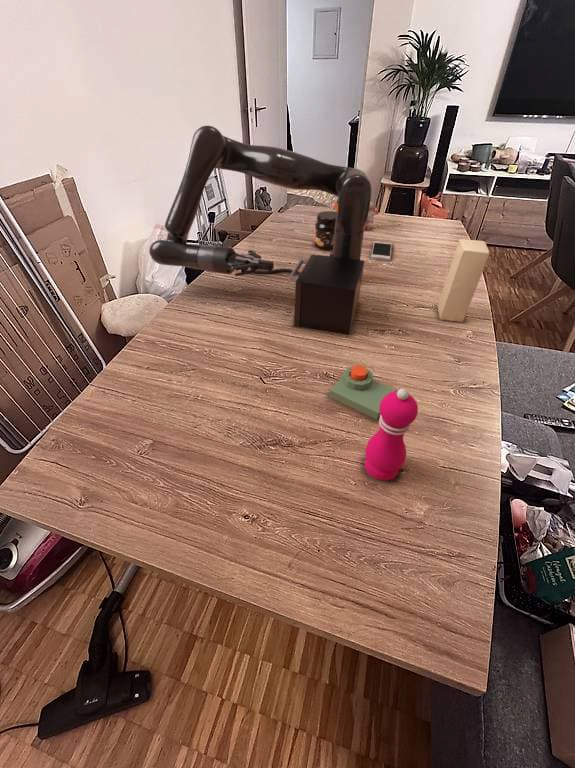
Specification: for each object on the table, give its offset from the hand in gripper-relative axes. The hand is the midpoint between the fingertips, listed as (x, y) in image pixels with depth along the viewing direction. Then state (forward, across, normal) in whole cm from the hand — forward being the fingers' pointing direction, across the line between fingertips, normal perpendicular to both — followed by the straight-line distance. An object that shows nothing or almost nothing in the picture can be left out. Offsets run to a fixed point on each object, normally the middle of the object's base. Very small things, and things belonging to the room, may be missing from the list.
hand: (272, 266), depth 107 cm
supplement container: (+6, +51, +13) cm, 53 cm away
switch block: (+31, -33, +13) cm, 47 cm away
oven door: (+8, 0, +13) cm, 15 cm away
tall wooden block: (+52, +11, +14) cm, 55 cm away
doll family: (+12, +73, +13) cm, 75 cm away
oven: (+18, 0, +13) cm, 22 cm away
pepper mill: (+37, -51, +13) cm, 65 cm away
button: (+30, -30, +9) cm, 43 cm away
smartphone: (+28, +52, +13) cm, 60 cm away
